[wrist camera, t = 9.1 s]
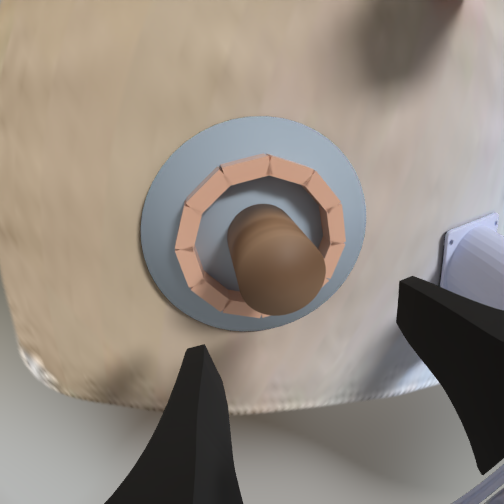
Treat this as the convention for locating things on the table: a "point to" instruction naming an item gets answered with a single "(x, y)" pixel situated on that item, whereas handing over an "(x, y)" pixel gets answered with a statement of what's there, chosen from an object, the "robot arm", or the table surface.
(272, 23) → the table surface
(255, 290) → the brown rounded cylinder
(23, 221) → the table surface
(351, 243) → the ring dish
